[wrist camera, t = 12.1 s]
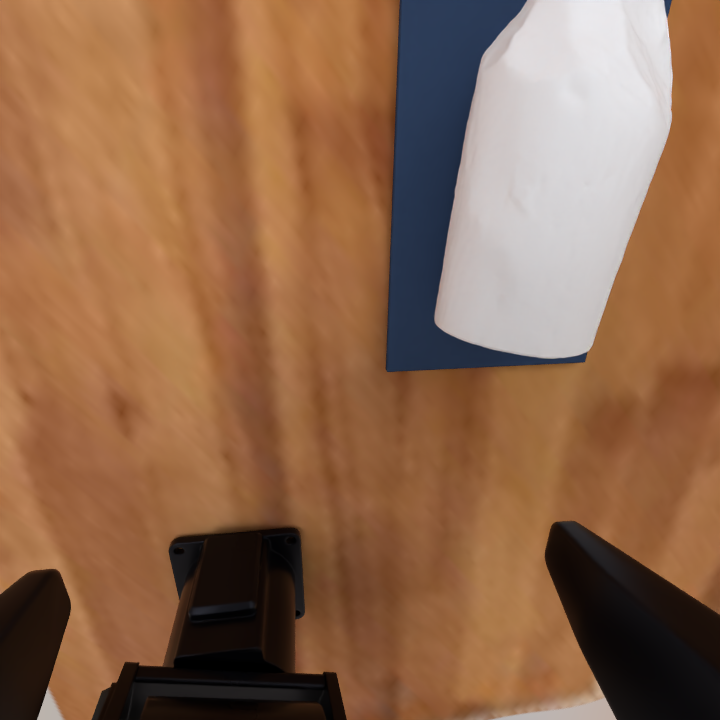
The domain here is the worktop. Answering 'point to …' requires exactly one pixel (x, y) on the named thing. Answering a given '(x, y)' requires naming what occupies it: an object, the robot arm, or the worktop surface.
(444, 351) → the cloth
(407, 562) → the worktop surface
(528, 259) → the white tapered cylinder
